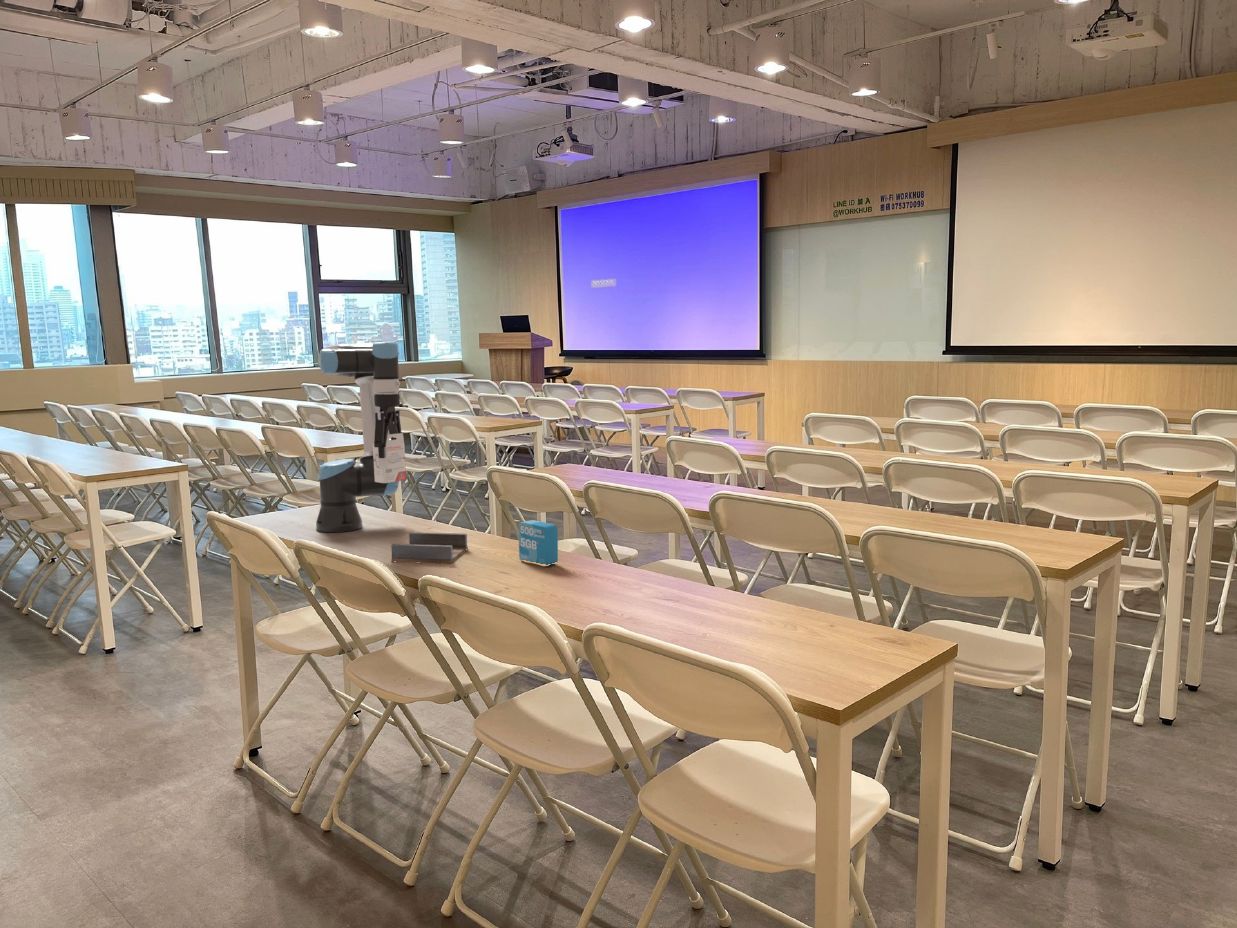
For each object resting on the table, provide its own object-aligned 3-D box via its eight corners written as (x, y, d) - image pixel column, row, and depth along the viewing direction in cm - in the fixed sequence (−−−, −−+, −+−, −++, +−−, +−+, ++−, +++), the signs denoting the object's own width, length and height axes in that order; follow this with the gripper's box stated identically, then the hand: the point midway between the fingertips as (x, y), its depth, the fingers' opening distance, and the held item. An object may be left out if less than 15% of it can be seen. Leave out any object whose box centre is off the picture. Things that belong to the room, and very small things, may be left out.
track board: (411, 547, 280) (411, 531, 279) (467, 548, 278) (467, 533, 277) (391, 561, 262) (390, 545, 262) (450, 563, 260) (450, 547, 260)
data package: (518, 561, 264) (518, 521, 262) (530, 558, 267) (529, 519, 265) (547, 568, 256) (546, 527, 254) (558, 565, 259) (558, 524, 258)
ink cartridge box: (396, 478, 280) (394, 431, 278) (406, 480, 277) (404, 432, 275) (373, 482, 273) (371, 434, 271) (383, 483, 270) (381, 435, 268)
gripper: (384, 395, 260) (387, 471, 263) (411, 391, 282) (414, 461, 285) (360, 395, 261) (363, 471, 264) (388, 391, 282) (391, 461, 286)
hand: (389, 466), depth 274 cm, fingers closed on ink cartridge box, 9 cm apart
